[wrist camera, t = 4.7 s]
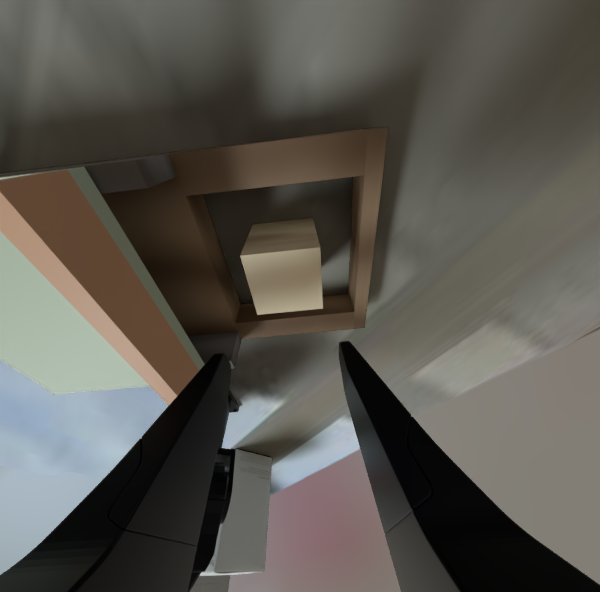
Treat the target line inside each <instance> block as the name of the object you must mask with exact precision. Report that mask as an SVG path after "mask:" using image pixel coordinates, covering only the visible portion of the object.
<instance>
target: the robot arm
mask: <svg viewBox="0 0 600 592" xmlns="http://www.w3.org/2000/svg"><path fill="white" fill-rule="evenodd" d="M339 360H340V366H341V372H342V379H343V385H344V391H345V396H346V399H347V403H348V407H349V410H350V414H351V417H352V421H353V424H354V428H355V431H356V435H357V438H358V442H359V445H360V449H361V452H362V455H363V459H364V463H365V466H366V470H367V473H368V477H369V480H370V484H371V487H372V491H373V494H374V497H375V501H376V505H377V508H378V512H379V515H380V519H381V522H382V526H383V529H384V532H385V536H386V540H387V543H388V547H389V550H390V554H391V557H392V561H393V564H394V568H395V571H396V575H397V578H398V582H399V585H400V589H401V592H600V585H599V584H598V583H596V582H595V581H594V580H592V579H591V578H589V577H588V576H587V575H585V574H584V573H582V572H581V571H580V570H578V569H577V568H575V567H574V566H573V565H571V564H570V563H568V562H567V561H565V560H564V559H563V558H561V557H560V556H558V555H557V554H556V553H554V552H553V551H551V550H550V549H549V548H547V547H546V546H544V545H543V544H542V543H540V542H539V541H537V540H536V539H534V538H533V537H532V536H531V535H529V534H528V533H527V532H526V531H524V530H523V529H522V528H521V527H519V526H518V525H517V524H516V523H515V522H514V521H512V520H511V519H510V518H509V517H508V516H507V515H506V514H505V513H504V512H503V511H502V510H501V509H500V508H498V506H497V505H496V504H495V503H494V502H493V501H492V500H491V499H490V498H489V497H488V496H487V495H486V494H485V493H484V492H483V491H482V490H481V489H480V488H479V487H478V486H477V485H476V484H475V483H474V482H473V481H472V480H471V479H470V478H469V477H468V476H467V475H466V474H465V473H464V472H463V471H462V470H461V469H460V468H459V467H458V466H457V465H456V464H455V463H454V462H453V461H452V460H451V459H450V458H449V457H448V456H447V455H446V454H445V453H444V452H443V451H442V449H441V448H440V447H439V446H438V445H437V444H436V443H435V442H434V441H433V440H432V439H431V437H430V436H429V435H428V434H427V433H426V432H425V431H424V430H423V428H422V427H421V426H420V425H419V424H418V422H417V421H416V420H415V419H414V418H413V417H411V414H410V413H409V412H408V411H407V409H406V408H405V407H404V406H403V405H402V403H401V402H400V401H399V400H398V399H397V397H396V396H395V395H394V394H393V393H392V391H391V390H390V389H389V388H388V387H387V385H386V384H385V383H384V382H383V381H382V379H381V378H380V377H379V376H378V375H377V373H376V372H375V371H374V370H373V369H372V368H371V366H370V365H369V364H368V363H367V362H366V360H365V359H364V358H363V357H362V356H361V354H360V353H359V352H358V351H357V350H356V348H355V347H354V346H353V345H352V344H351V342H349V341H344V342H340V343H339ZM230 375H231V364H230V362H229V360H228V358H227V356H226V354H225V353H215V354H214V355H212V357H211V358H210V359H209V360H208V361H207V362H206V364H205V365H204V366H203V367H202V368H201V369H200V370H199V372H198V373H197V374H196V375H195V376H194V377H193V379H192V380H191V381H190V382H189V383H188V384H187V385H186V387H185V388H184V389H183V390H182V391H181V392H180V393H179V395H178V396H177V397H176V398H175V399H174V400H173V402H172V403H171V404H170V405H169V406H168V407H167V408H166V410H165V411H164V412H163V413H162V414H161V415H160V416H159V418H158V419H157V420H156V421H155V422H154V423H153V425H152V426H151V427H150V428H149V429H148V430H147V431H146V433H145V434H144V435H143V436H142V439H139V440H138V442H137V443H136V444H135V445H134V446H133V447H132V449H131V450H130V451H129V452H128V453H127V454H126V455H125V456H124V457H123V459H122V460H121V461H120V462H119V463H118V464H117V465H116V466H115V468H114V469H113V470H112V471H111V472H110V473H109V474H108V475H107V476H106V477H105V478H104V479H103V480H102V481H101V482H100V483H99V484H98V485H97V486H96V487H95V488H94V489H93V491H92V492H91V493H90V494H89V495H88V496H87V497H86V498H85V499H84V500H83V501H82V502H81V503H80V504H79V505H78V506H77V507H76V508H75V509H74V510H73V511H72V512H71V513H70V514H69V515H68V516H67V517H66V518H65V519H64V520H63V521H62V522H61V523H60V524H59V525H58V526H57V527H56V528H55V529H54V530H53V531H52V532H51V534H49V535H48V536H47V537H46V538H45V539H44V540H43V541H42V542H41V543H40V544H39V545H38V546H37V547H36V548H35V549H33V550H32V551H31V552H30V553H29V554H27V556H25V557H24V558H23V559H21V560H20V561H19V562H18V563H16V564H15V565H14V566H12V567H11V568H10V569H9V570H7V571H6V572H4V573H3V574H1V575H0V592H190V590H191V589H192V587H193V585H194V584H195V582H196V580H197V579H198V577H199V575H200V574H201V572H205V570H206V569H207V567H208V565H209V563H210V561H211V559H212V557H213V556H214V553H215V547H216V541H217V536H218V532H219V527H220V524H223V523H224V521H225V518H226V516H227V513H228V509H229V505H230V500H231V495H232V487H233V475H234V464H235V452H236V449H224V448H222V443H223V438H224V434H225V429H226V425H227V420H228V416H229V412H238V411H239V406H238V405H237V403H236V401H235V399H234V398H233V396H232V394H231V392H230V390H229V385H230Z"/></svg>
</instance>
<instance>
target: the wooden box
mask: <svg viewBox="0 0 600 592" xmlns="http://www.w3.org/2000/svg"><path fill="white" fill-rule="evenodd" d="M387 136H388V127H374V128H365V129H357V130H349V131H341V132H333V133H325V134H317V135H308V136H300V137H292V138H284V139H276V140H268V141H260V142H252V143H243V144H235V145H227V146H219V147H211V148H203V149H195V150H186V151H178V152H170V153H162V154H154V155H146V156H138V157H130V158H121V159H113V160H105V161H97V162H89V163H81V164H73V165H65V166H56V167H48V168H40V169H32V170H24V171H16V172H8V173H0V177H4V176H12V175H20V174H28V173H37V172H45V171H53V170H61V169H69V168H77V167H85V169H86V171H87V172H88V174H89V176H90V177H91V179H92V180H93V182H94V184H95V185H96V187H97V189H98V190H99V192H100V194H101V195H102V197H103V198H104V200H105V202H106V203H107V205H108V207H109V208H110V210H111V212H112V213H113V215H114V216H115V218H116V220H117V221H118V223H119V225H120V226H121V228H122V230H123V231H124V233H125V234H126V236H127V238H128V239H129V241H130V243H131V244H132V246H133V248H134V249H135V251H136V252H137V254H138V256H139V257H140V259H141V261H142V262H143V264H144V266H145V267H146V269H147V271H148V272H149V274H150V275H151V277H152V279H153V280H154V282H155V284H156V285H157V287H158V289H159V290H160V292H161V293H162V295H163V297H164V298H165V300H166V302H167V303H168V305H169V307H170V308H171V310H172V311H173V313H174V315H175V316H176V318H177V320H178V321H179V323H180V325H181V326H182V328H183V329H184V331H185V333H186V334H187V336H188V338H189V339H190V341H191V343H192V344H193V346H194V347H195V349H196V351H197V352H198V354H199V356H200V357H201V359H202V361H203V362H204V364H206V362H207V361H208V360H209V359H210V358H211V357H212V355H214V354H215V353H225V354H226V356H227V358H228V360H229V362H230V364H231V369H234V368H235V365H236V361H237V356H238V352H239V348H240V344H241V339H249V338H260V337H271V336H281V335H292V334H303V333H313V332H324V331H335V330H345V329H356V328H365V320H366V312H367V304H368V295H369V287H370V278H371V270H372V262H373V253H374V245H375V236H376V228H377V220H378V211H379V203H380V194H381V186H382V178H383V169H384V161H385V152H386V144H387ZM347 177H354V178H353V199H352V221H351V242H350V264H349V285H348V294H341V295H331V296H322V298H323V309H314V310H303V311H293V312H282V313H272V314H262V315H257V312H256V308H255V305H254V303H250V304H240V301H239V298H238V295H237V292H236V289H235V286H234V284H233V281H232V278H231V275H230V272H229V269H228V266H227V263H226V260H225V257H224V255H223V252H222V249H221V246H220V243H219V240H218V237H217V234H216V231H215V228H214V226H213V223H212V220H211V217H210V214H209V211H208V208H207V205H206V202H205V199H204V197H203V194H209V193H218V192H227V191H235V190H244V189H252V188H261V187H270V186H278V185H287V184H295V183H304V182H313V181H321V180H330V179H338V178H347Z"/></svg>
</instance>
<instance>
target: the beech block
mask: <svg viewBox="0 0 600 592" xmlns="http://www.w3.org/2000/svg"><path fill="white" fill-rule="evenodd" d="M240 257H241V261H242V264H243V267H244V271H245V274H246V278H247V281H248V284H249V288H250V291H251V295H252V298H253V301H254V305H255V308H256V312H257V315H262V314H272V313H282V312H293V311H303V310H314V309H323V298H322V275H321V252H320V244H319V240H318V236H317V232H316V228H315V224H314V221H313V218H308V219H299V220H289V221H280V222H271V223H262V224H253V225H252V227H251V230H250V232H249V235H248V237H247V240H246V242H245V245H244V247H243V250H242V252H241V255H240Z"/></svg>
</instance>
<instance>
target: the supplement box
mask: <svg viewBox="0 0 600 592" xmlns="http://www.w3.org/2000/svg"><path fill="white" fill-rule="evenodd" d="M271 468H272V458H270V457H266V456H262V455H258V454H254V453H250V452H246V451H242V450H239V449H236V452H235V464H234V475H233V487H232V495H231V500H230V505H229V509H228V513H227V516H226V518H225V521H224V523H223V524H220V527H219V532H218V536H217V541H216V547H215V553H214V556H213V557H212V559H211V561H210V563H209V565H208V567H207V569H206V570H205V572H201V574H200V575H199V576H215V575H235V574H247V573H259V572H264V571H265V560H266V544H267V529H268V514H269V499H270V484H271Z"/></svg>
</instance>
